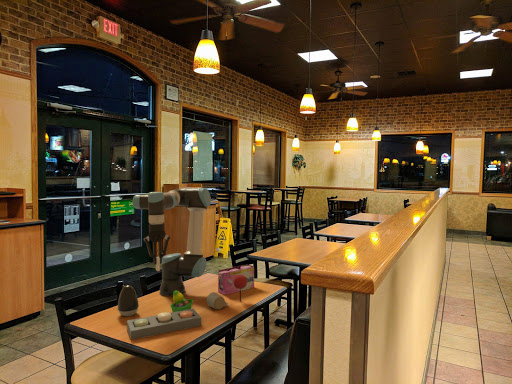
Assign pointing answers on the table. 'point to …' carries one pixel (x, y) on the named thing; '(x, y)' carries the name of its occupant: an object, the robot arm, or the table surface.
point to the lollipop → (240, 282)
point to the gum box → (228, 277)
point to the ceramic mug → (216, 301)
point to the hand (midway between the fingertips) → (157, 270)
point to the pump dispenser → (128, 301)
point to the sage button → (141, 322)
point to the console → (163, 325)
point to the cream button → (164, 317)
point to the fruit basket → (180, 302)
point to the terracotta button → (186, 314)
